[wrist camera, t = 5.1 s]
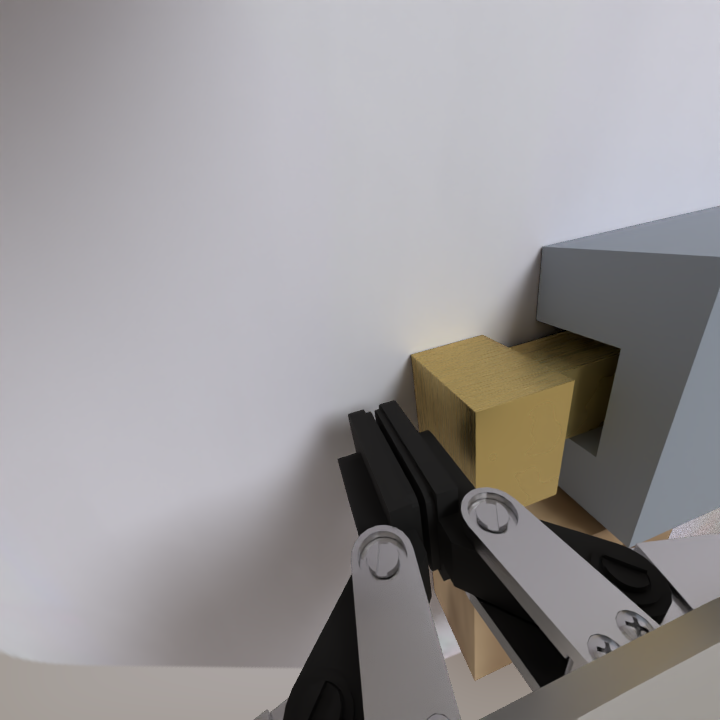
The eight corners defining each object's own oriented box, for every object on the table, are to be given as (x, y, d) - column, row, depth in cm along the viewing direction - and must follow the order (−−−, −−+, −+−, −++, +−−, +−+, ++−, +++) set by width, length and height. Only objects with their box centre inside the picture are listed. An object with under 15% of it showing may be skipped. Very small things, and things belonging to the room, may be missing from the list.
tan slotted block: (595, 436, 16) (687, 494, 13) (574, 531, 20) (642, 599, 16) (424, 498, 14) (474, 585, 11) (434, 591, 18) (474, 680, 14)
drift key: (682, 279, 13) (832, 296, 10) (656, 366, 15) (774, 408, 12) (410, 354, 11) (475, 412, 8) (420, 445, 13) (475, 526, 9)
